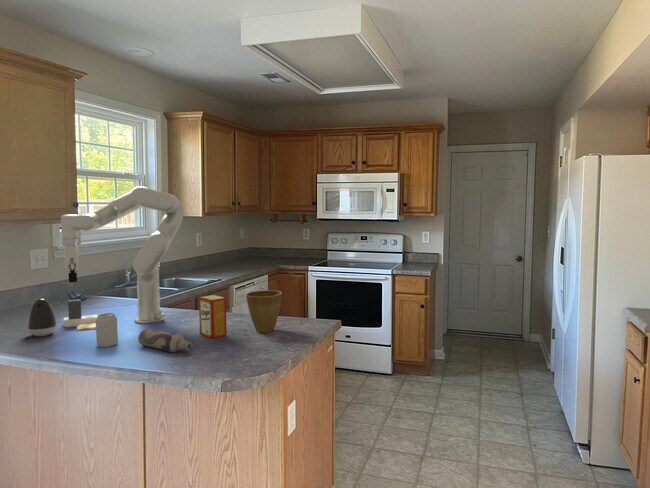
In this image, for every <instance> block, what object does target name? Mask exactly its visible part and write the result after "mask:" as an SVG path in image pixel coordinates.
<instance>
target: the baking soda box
mask: <svg viewBox="0 0 650 488" xmlns="http://www.w3.org/2000/svg"><path fill="white" fill-rule="evenodd" d="M226 300H227V299H226V297H223V296H219V295H215V294H212V295H211V294H210V295H203V296H199V297H198V309H199V310H198V311H199V314H198V315H199V316H198V317H199V335H200V336H202V337H205V338H209V339H211V340H215V339H216V340H217V339H220V338H223V337H227V336H228V334H227V333H228V332H227V301H226Z"/></svg>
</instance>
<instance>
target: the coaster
mask: <svg viewBox="0 0 650 488" xmlns="http://www.w3.org/2000/svg"><path fill="white" fill-rule="evenodd" d="M89 330H96V323H92V324H83V325H77V326H76V331H78V332H81V331H89Z"/></svg>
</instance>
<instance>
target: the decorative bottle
mask: <svg viewBox="0 0 650 488" xmlns="http://www.w3.org/2000/svg"><path fill="white" fill-rule="evenodd" d="M138 343H139V344H140V345H141V346H144V347H150V348H155V349H158V350H162V351H165V352H169V353H177V352H181V351H186V350H187V351H189V350H190V351H191V350H194V349H195V347H196V346H195V345H194V344H193V343H192V342H190V341H187V340H186V339H184V337H183V336H182V335H181V334H176V333H172V332H167V331H162V330H157V329H152V328H144V329H142V330H141V331H140V332H139V334H138Z"/></svg>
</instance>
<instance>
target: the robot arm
mask: <svg viewBox="0 0 650 488" xmlns="http://www.w3.org/2000/svg"><path fill="white" fill-rule="evenodd" d="M142 208H147V209H150V210H155V211H159V212H161V213H163V217H162V218H161V220H160V222H159V224H158V225H157V227H156V229H155V230H154V232H153V233H152V234H150V235H149V236H148V237H147V238H146V240H145V242H144V243H143V245H142V247H141V248H140V250H139V252H138V253H137V255H136V257H135V258H134V261H133V263H132V265H133V270H134V271H135V272H136V288H137V289H136V292H137V314H138V316H137V317H136V318H134V322H135V323H138V324H152V323H159V322H162V321H163V320H164V319H165V317H166V313H162V310H161V305H160V304H161V301H160V262H161V261H162V258H163V256H164V255H165V253H166V252H167V250H169V248H170V246H171V243H172V241H173V239H174V237H175V236H176V234H177V232H178V230H179V229H180V227H181V224H182V222H183V218H184V207H183V205H182V203H181V201H180V200H179V199H178V197H177V196H176V195H174V194H172V193H167V192H163V191H161V190H156V189H153V188H149V187H147V186H140V185H139V186H136V187H134V188H133V189H132V190H131V191H129V192H127V193H125V194H123V195H121V196H120V195H119V197H117V198H114V199H113V200H112V201H111V202H109V203H108V204H107V205H106V206H104V207H102V208H100V209H98V210H96V211H93V212H91V213H85V214H71V213H70V214H62V215H61V216H60V226H61V227H60V229H61V230H60V231H61V246H62V247H64V266H65V267H64V268H65V269H68V283H77V282H78V273H77V272H78V271H77V268H79V267H78V265H79V246H82V237H81V236H82V235H81V231H82V232H83V231H84V232H91V231H96V230H98V229H101V228H103V227H105V226H107V225H109V224H111V223H112V222H114V221H116V220H119V219H122V218H124V217H126V216H128V215H129V214H131V213H134V212H136V211H138V210H139V209H142Z"/></svg>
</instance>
